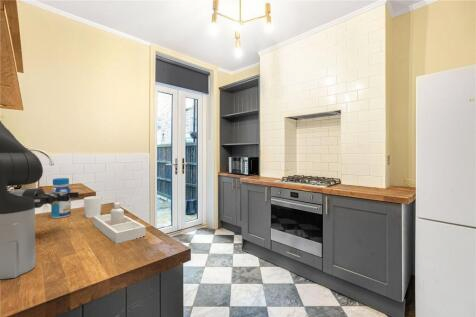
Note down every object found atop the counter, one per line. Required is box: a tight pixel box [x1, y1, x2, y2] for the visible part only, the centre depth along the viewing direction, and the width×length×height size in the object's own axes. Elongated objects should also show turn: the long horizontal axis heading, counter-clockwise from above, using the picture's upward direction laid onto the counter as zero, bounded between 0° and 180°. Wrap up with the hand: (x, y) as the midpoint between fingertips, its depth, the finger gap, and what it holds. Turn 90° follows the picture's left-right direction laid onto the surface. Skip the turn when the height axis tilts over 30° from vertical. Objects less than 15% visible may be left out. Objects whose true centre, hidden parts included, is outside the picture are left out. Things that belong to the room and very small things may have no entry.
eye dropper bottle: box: [110, 199, 125, 225], centre depth 97 cm, size 4×6×12 cm
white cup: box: [83, 195, 102, 219], centre depth 120 cm, size 8×8×10 cm
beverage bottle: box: [50, 177, 72, 219], centre depth 119 cm, size 8×8×20 cm
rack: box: [92, 213, 147, 245], centre depth 98 cm, size 31×11×4 cm, turn 46°
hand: (74, 196), depth 93 cm, fingers open, 8 cm apart
